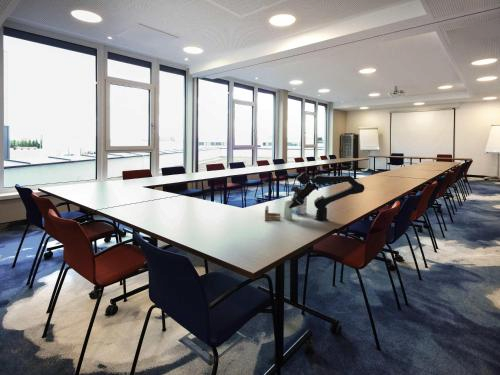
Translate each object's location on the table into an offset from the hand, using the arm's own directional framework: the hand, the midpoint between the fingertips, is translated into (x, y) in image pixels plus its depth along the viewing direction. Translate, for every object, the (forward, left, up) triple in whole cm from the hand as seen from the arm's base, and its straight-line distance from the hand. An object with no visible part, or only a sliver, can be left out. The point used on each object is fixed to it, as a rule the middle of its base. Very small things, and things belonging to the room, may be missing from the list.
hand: (289, 206), depth 199 cm
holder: (+6, +8, -8) cm, 13 cm away
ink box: (+10, -17, -8) cm, 21 cm away
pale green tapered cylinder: (0, 0, -8) cm, 8 cm away
